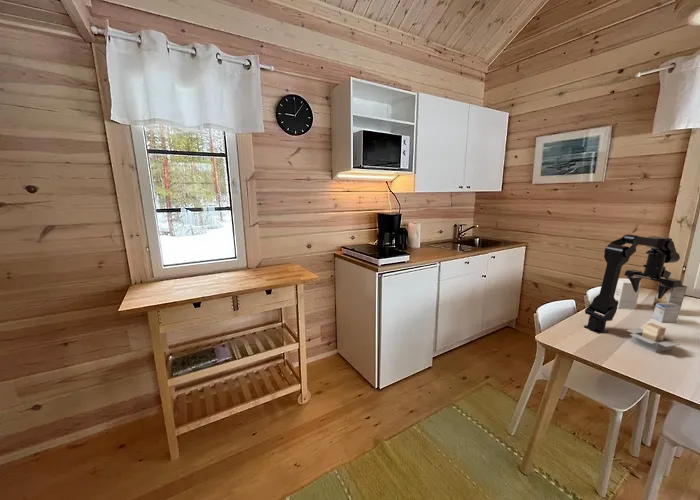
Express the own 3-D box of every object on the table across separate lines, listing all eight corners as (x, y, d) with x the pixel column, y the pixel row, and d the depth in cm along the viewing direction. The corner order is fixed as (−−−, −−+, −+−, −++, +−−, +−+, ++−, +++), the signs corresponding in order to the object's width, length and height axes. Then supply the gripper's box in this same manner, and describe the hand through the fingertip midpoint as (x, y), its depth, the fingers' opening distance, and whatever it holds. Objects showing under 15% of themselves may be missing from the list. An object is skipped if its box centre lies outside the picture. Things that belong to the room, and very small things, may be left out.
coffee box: (651, 307, 161) (658, 279, 158) (665, 308, 160) (672, 280, 156) (665, 314, 152) (673, 285, 149) (679, 315, 151) (688, 286, 148)
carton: (658, 356, 113) (661, 347, 112) (619, 339, 126) (621, 330, 125) (682, 352, 116) (685, 343, 115) (642, 335, 129) (644, 327, 128)
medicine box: (666, 318, 147) (671, 302, 145) (676, 322, 143) (681, 306, 141) (652, 318, 147) (656, 302, 145) (661, 322, 143) (665, 306, 141)
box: (652, 349, 118) (658, 328, 116) (639, 343, 122) (644, 323, 121) (660, 347, 119) (666, 327, 117) (647, 342, 124) (652, 322, 122)
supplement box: (622, 303, 167) (628, 278, 163) (635, 309, 158) (642, 283, 155) (605, 302, 167) (610, 277, 164) (617, 308, 159) (623, 282, 156)
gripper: (694, 268, 127) (685, 301, 131) (643, 258, 145) (636, 287, 148) (676, 269, 125) (667, 303, 128) (627, 259, 143) (620, 289, 146)
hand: (647, 295), depth 138 cm, fingers open, 9 cm apart
